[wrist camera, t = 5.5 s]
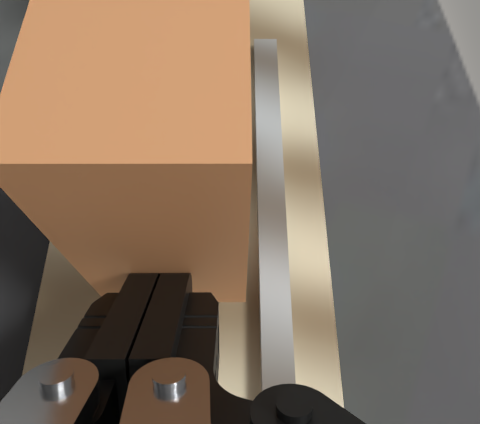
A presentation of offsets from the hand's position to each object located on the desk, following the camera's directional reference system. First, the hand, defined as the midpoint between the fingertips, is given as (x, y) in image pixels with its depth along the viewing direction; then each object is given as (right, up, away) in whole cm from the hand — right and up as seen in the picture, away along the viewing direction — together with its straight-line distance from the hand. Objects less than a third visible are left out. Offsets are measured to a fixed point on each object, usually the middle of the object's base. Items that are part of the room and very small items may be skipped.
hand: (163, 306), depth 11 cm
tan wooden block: (0, +1, +4) cm, 4 cm away
